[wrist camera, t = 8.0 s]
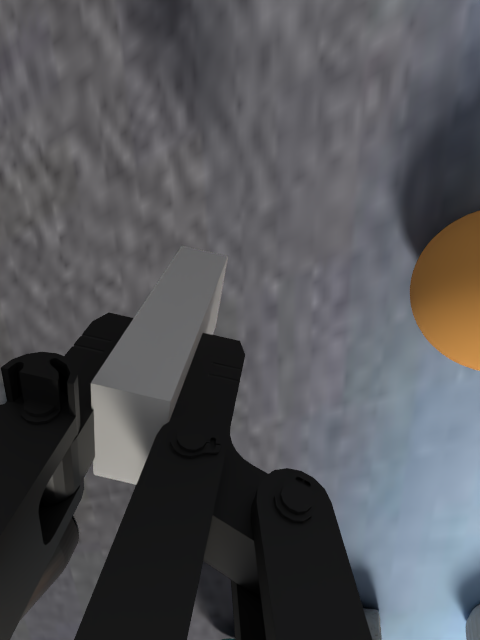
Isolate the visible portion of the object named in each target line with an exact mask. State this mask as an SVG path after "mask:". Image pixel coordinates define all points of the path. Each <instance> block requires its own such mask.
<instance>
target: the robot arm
mask: <svg viewBox="0 0 480 640" xmlns="http://www.w3.org/2000/svg"><path fill="white" fill-rule="evenodd" d="M227 259H228V256H225V255H221V254H217V253H212V252H208V251H203V250H199V249H194V248H190V247H185V246H181V248H180V249H179V251H178V252H177V254H176V255H175V257H174V258H173V260H172V261H171V263H170V264H169V266H168V267H167V269H166V270H165V272H164V273H163V275H162V276H161V278H160V279H159V281H158V282H157V284H156V285H155V287H154V288H153V290H152V291H151V293H150V294H149V296H148V297H147V299H146V301H145V302H144V304H143V305H142V307H141V308H140V310H139V311H138V313H137V314H136V316H135V317H134V318H130V317H126V316H121V315H117V314H113V313H107V314H105V315H103V316H102V317H100V318H98V319H96V320H94V321H92V323H91V324H90V325H89V326H88V328H87V329H86V330H85V331H84V333H83V335H82V336H80V338H79V339H78V340H77V341H76V342H75V344H74V347H71V349H70V350H69V351H68V352H67V354H66V355H65V356H62V355H59V354H57V353H48V352H38V353H31V354H25V355H23V356H20V357H17V358H15V359H12V360H11V361H9V362H8V363H7V364H5V365H4V366H2V367H1V371H2V377H3V382H4V387H5V392H6V398H7V402H6V403H5V404H3V405H0V640H10V638H11V636H12V634H13V632H14V631H15V629H16V627H17V625H18V623H19V621H20V620H21V619H22V618H23V616H24V615H25V614H26V613H27V612H28V611H29V610H30V608H31V607H32V606H33V605H34V604H35V603H36V602H37V601H38V599H39V598H40V597H41V596H42V595H43V594H44V593H45V591H46V590H47V589H48V588H49V587H50V586H51V585H52V584H53V582H54V581H55V580H56V579H57V578H58V577H59V576H60V574H61V573H62V572H63V570H64V569H65V567H66V566H67V564H68V562H69V560H70V558H71V556H72V554H73V552H74V550H75V548H76V546H77V544H78V539H79V535H78V530H77V527H76V525H75V523H74V521H73V519H72V516H73V514H74V512H75V510H76V508H77V506H78V504H79V502H80V500H81V498H82V494H83V491H84V477H85V475H86V473H87V471H88V469H89V467H90V465H91V463H92V461H93V470H94V475H97V476H101V477H106V478H110V479H114V480H119V481H123V482H127V483H131V484H136V487H135V489H134V492H133V494H132V497H131V499H130V502H129V504H128V507H127V509H126V512H125V514H124V517H123V519H122V522H121V524H120V527H119V529H118V532H117V534H116V537H115V539H114V542H113V544H112V547H111V549H110V552H109V554H108V557H107V559H106V562H105V564H104V567H103V569H102V572H101V574H100V577H99V579H98V582H97V584H96V587H95V589H94V592H93V594H92V597H91V599H90V602H89V604H88V606H87V609H86V611H85V614H84V616H83V619H82V621H81V624H80V626H79V629H78V631H77V634H76V636H75V639H74V640H187V636H188V631H189V626H190V621H191V617H192V612H193V607H194V602H195V597H196V593H197V588H198V583H199V578H200V573H201V569H202V564H203V561H204V562H206V563H207V564H209V565H210V566H212V567H213V568H215V569H216V570H218V571H219V572H221V573H222V574H224V575H225V576H227V577H228V578H230V579H231V587H232V600H233V614H234V627H235V640H372V636H371V633H370V630H369V626H368V623H367V620H366V616H365V613H364V610H363V606H362V603H361V600H360V596H359V593H358V590H357V586H356V583H355V580H354V576H353V573H352V570H351V566H350V563H349V560H348V556H347V553H346V550H345V546H344V543H343V540H342V536H341V533H340V530H339V526H338V523H337V520H336V516H335V513H334V510H333V506H332V503H331V501H330V499H329V497H328V495H327V493H326V491H325V489H324V488H323V487H322V486H321V485H320V484H319V483H318V482H317V481H316V480H315V479H314V478H313V477H311V476H309V475H307V474H306V473H304V472H302V471H298V470H293V469H288V468H286V469H280V470H274V471H272V472H271V473H269V474H267V473H266V472H264V471H262V470H260V469H258V468H257V467H255V466H253V465H252V464H250V463H249V462H247V461H246V460H244V459H243V458H242V457H241V456H240V454H239V453H238V452H237V451H236V449H235V448H234V446H233V444H232V441H231V437H230V426H231V421H232V416H233V411H234V406H235V401H236V397H237V392H238V387H239V382H240V377H241V372H242V368H243V363H244V358H245V353H244V351H243V348H242V345H241V343H240V341H237V340H233V339H229V338H224V337H220V336H215V335H213V333H214V330H215V327H216V322H217V316H218V310H219V305H220V299H221V293H222V288H223V282H224V276H225V271H226V265H227Z"/></svg>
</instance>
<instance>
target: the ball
mask: <svg viewBox="0 0 480 640" xmlns="http://www.w3.org/2000/svg"><path fill="white" fill-rule="evenodd" d="M410 301H411V307H412V312H413V315H414V318H415V320H416V323H417V325H418V327H419V328H420V330H421V331H422V333H423V335H424V336H425V337H426V339H427V340H428V341H429V342H430V343H431V344H432V345H433V346H434V347H435V348H436V349H437V350H438V351H439V352H441V353H442V354H443V355H445V356H446V357H448V358H449V359H451V360H453V361H455V362H457V363H459V364H461V365H463V366H466V367H469V368H472V369H474V370H479V371H480V211H477V212H474V213H471V214H468V215H466V216H464V217H462V218H460V219H458V220H456V221H454V222H453V223H451V224H449V225H448V226H447V227H445V228H444V229H443V230H442V231H441V232H439V233H438V234H437V235H436V236H435V237H434V238H433V239H432V240H431V241H430V242H429V243H428V245H427V246H426V247H425V249H424V250H423V252H422V253H421V255H420V257H419V259H418V261H417V263H416V265H415V268H414V270H413V274H412V278H411V285H410Z"/></svg>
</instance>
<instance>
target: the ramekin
mask: <svg viewBox="0 0 480 640" xmlns="http://www.w3.org/2000/svg"><path fill="white" fill-rule="evenodd" d="M466 639H467V640H480V604H479V605H477V606H476V607H475V608H474V609H473V610H472V612H471V613H470V615H469V617H468V619H467V622H466Z"/></svg>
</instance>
